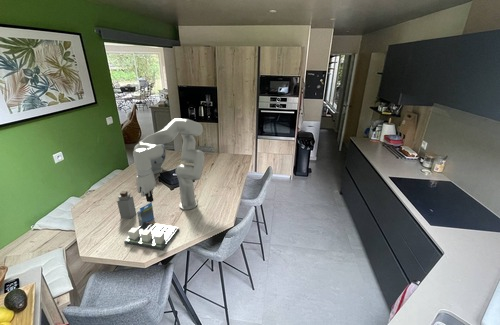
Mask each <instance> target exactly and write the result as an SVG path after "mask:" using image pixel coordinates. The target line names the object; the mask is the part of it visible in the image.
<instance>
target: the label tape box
mask: <svg viewBox="0 0 500 325" xmlns="http://www.w3.org/2000/svg"><path fill="white" fill-rule="evenodd" d="M152 203H153V201H152V202H148V204H146V205H143V206H142V207H139V211H136V214H137V219H138V223H139V224H140V225H141V224H142V223H143V222H148V223H149V222H150V221H152V220H153V219H155V215H154V207H153V204H152Z"/></svg>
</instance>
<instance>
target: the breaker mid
mask: <svg viewBox="0 0 500 325" xmlns="http://www.w3.org/2000/svg"><path fill="white" fill-rule="evenodd" d="M151 238H152V232H151V230H144V231H143V232H142V233H141V239H142V241H144V242H148V241H149V240H150V239H151Z"/></svg>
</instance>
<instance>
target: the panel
mask: <svg viewBox="0 0 500 325" xmlns="http://www.w3.org/2000/svg"><path fill="white" fill-rule="evenodd" d="M137 228H139V232H140V235H139V236H138V237H137V238H136V239H135V240H133V239H129V236H127V237H126V239H124V240H123V242H124V244H126V245H129V246H135V247H141V248H147V249H152V250H157V251H161V252H162V251H165V249H166V248H167V246H168V245H169V244H170V243H171V242H172V240H173V239H174V237H175V236H176V235H177V234H178V233H179V231H180V227H179V226H173V225H166V224H160V223H155V222H149V221H148V222H143V223H142V224H140V225H139V226H138V227H137ZM144 230H151V232H152V238H151V239H150V240H149V241H148V242H144V241H142V239H141V233H142V232H143V231H144ZM157 232H164V235H165V240H164V241H163V242H162V244H155V242H154V235H155V234H156V233H157Z"/></svg>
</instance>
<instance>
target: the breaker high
mask: <svg viewBox="0 0 500 325" xmlns="http://www.w3.org/2000/svg"><path fill="white" fill-rule="evenodd" d="M164 240H165V235H164V232H157V233H156V234H155V235H154V242H155V244H162V242H163V241H164Z"/></svg>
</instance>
